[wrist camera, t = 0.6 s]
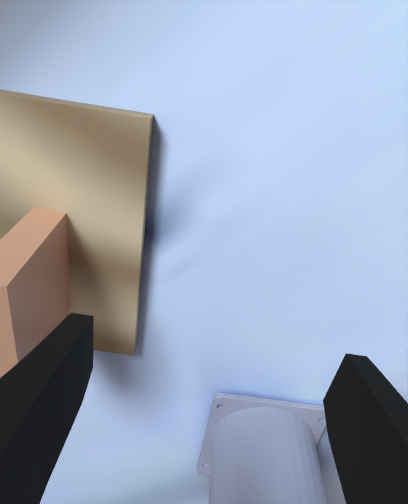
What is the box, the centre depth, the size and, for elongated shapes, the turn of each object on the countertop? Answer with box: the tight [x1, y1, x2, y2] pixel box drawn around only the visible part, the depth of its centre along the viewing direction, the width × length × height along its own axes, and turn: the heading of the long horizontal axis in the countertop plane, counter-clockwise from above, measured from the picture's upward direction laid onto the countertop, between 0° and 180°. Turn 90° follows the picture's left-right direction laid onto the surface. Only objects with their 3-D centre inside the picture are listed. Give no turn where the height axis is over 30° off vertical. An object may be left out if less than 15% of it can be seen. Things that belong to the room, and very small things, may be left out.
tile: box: [0, 208, 71, 378], centre depth 17 cm, size 6×2×6 cm, turn 172°
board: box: [0, 90, 153, 355], centre depth 20 cm, size 14×13×1 cm
